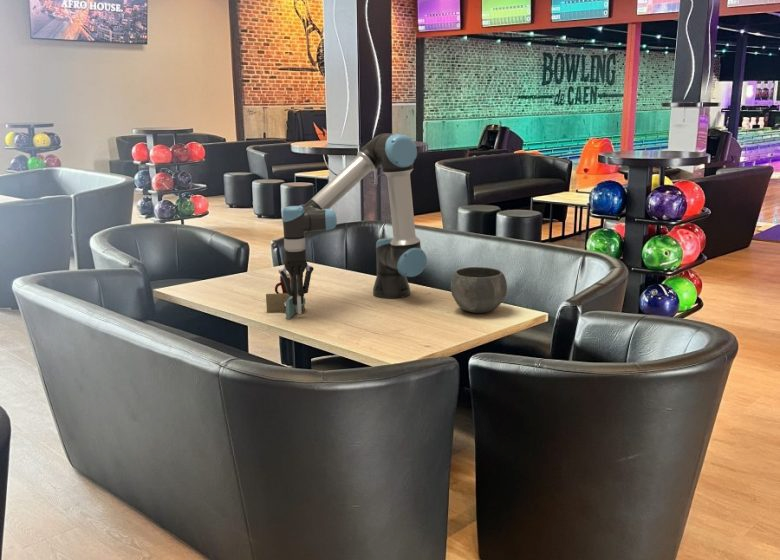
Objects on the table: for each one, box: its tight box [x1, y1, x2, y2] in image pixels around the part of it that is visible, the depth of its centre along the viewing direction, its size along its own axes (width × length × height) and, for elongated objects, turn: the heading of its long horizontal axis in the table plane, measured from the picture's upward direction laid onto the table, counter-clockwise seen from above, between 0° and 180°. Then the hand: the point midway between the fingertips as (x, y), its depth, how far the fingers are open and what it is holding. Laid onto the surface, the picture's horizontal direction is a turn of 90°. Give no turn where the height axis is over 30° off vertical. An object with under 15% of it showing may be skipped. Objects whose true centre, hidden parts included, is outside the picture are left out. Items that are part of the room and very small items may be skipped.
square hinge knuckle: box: [265, 292, 306, 315], centre depth 290 cm, size 14×6×7 cm, turn 90°
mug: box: [274, 272, 290, 294], centre depth 307 cm, size 10×8×10 cm
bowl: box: [450, 266, 508, 314], centre depth 286 cm, size 20×20×15 cm
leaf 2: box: [285, 296, 306, 320], centre depth 287 cm, size 14×6×7 cm, turn 171°
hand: (298, 312), depth 283 cm, fingers closed
